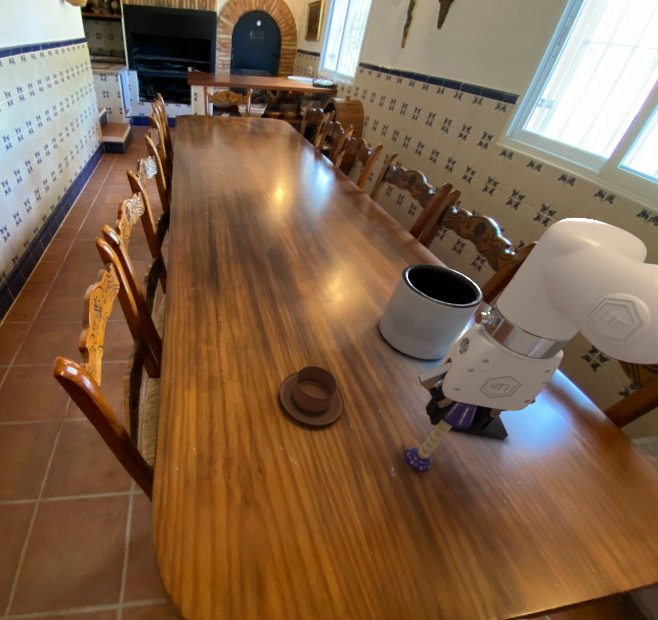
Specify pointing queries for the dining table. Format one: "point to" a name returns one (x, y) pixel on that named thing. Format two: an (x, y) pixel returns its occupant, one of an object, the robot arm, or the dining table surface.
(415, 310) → the planter
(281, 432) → the dining table surface
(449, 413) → the toy lamp
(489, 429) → the dark grey lever base
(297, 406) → the cup and saucer
